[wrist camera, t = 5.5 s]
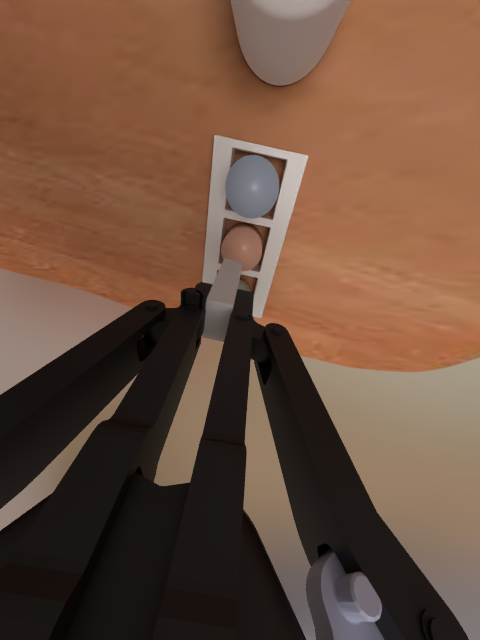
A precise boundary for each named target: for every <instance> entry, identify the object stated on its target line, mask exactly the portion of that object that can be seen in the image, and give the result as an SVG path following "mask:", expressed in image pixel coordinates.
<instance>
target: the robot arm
mask: <svg viewBox="0 0 480 640" xmlns="http://www.w3.org/2000/svg"><path fill="white" fill-rule="evenodd" d="M242 265H243V262H240V261H236V260H231V259H226V258H224V261H223V263H222V265H221V267H220V270H219V272H218V274H217V276H216V279H215V281H214V283H213V284H209V283H204V282H201V283H199V284H197V285H196V287H195V288H186V289H183V290H182V291H181V305H180V306H179V307H178V308H165V304H164V303H163V302H161V301H157V300H148V301H144V302H142V303H140V304H139V305H137V306H136V307H134V308H133V309H131V310H130V311H128V312H127V313H125V314H124V315H122V316H121V317H119V318H118V319H116V320H114V321H113V322H111V323H110V324H108V325H107V326H105V327H104V328H102V329H101V330H99V331H98V332H96V333H94V334H93V335H91V336H90V337H88V338H87V339H85V340H84V341H82V342H81V343H79V344H78V345H76V346H75V347H73V348H71V349H70V350H69V351H67V352H65V353H64V354H62V355H61V356H59V357H58V358H56V359H55V360H53V361H52V362H50V363H49V364H47V365H45V366H44V367H42V368H41V369H39V370H38V371H36V372H35V373H33V374H32V375H30V376H29V377H27V378H26V379H24V380H23V381H21V382H19V383H18V384H16V385H15V386H13V387H12V388H10V389H9V390H7V391H6V392H4V393H3V394H1V395H0V509H1V508H2V507H3V506H4V505H6V504H7V503H8V502H9V501H10V500H12V499H13V498H14V497H15V496H16V495H17V494H18V493H20V492H21V491H22V490H23V489H24V488H25V487H26V486H27V485H28V484H30V482H32V481H33V480H34V479H35V478H36V477H37V476H38V475H39V474H40V473H41V472H42V471H43V470H44V469H45V468H46V467H47V466H48V465H49V464H50V463H51V462H52V461H53V460H54V459H55V458H56V457H57V455H59V454H60V453H61V452H62V451H63V450H64V449H65V448H66V447H67V445H68V444H69V443H70V442H71V441H72V440H73V439H74V438H75V437H76V436H77V435H78V434H79V433H80V432H81V431H82V430H83V429H84V428H85V427H86V426H87V425H88V424H89V423H90V422H91V421H92V420H93V419H94V418H95V417H96V416H97V415H98V414H99V413H100V412H101V411H102V410H103V409H104V408H105V406H107V405H108V404H109V403H110V402H111V401H112V399H114V397H116V395H117V394H118V393H119V392H120V391H121V390H122V389H123V388H124V387H125V386H126V385H127V384H128V383H129V382H130V381H131V380H132V379H133V378H134V377H135V376H136V375H137V374H138V373H139V374H138V375H137V377H136V379H135V380H134V382H133V383H132V385H131V387H130V388H129V390H128V392H127V393H126V395H125V397H124V398H123V400H122V401H121V403H120V405H119V406H118V408H117V410H116V411H115V413H114V415H113V416H112V417H111V418H110V419H109V420H106V421H102V422H101V423H100V424H99V425H97V427H96V428H95V430H94V431H93V432H92V434H91V435H90V437H89V438H88V440H87V441H86V443H85V444H84V446H83V447H82V449H81V451H80V452H79V454H78V455H77V457H76V458H75V460H74V461H73V463H72V464H71V466H70V467H69V469H68V470H67V472H66V474H65V475H64V477H63V479H62V480H61V481H60V483H59V484H58V486H57V487H56V489H55V491H54V492H53V493H52V494H51V495H49V496H48V497H46V498H45V499H43V500H42V501H41V502H39V503H38V504H37V505H35V506H34V507H32V508H31V509H30V510H28V511H27V512H26V513H24V514H23V515H21V516H20V517H19V518H17V519H16V520H14V521H13V522H12V523H10V524H9V525H8V526H6V527H5V528H3V529H2V530H1V531H0V640H306V638H305V636H304V634H303V631H302V629H301V627H300V625H299V623H298V621H297V618H296V616H295V614H294V612H293V609H292V607H291V605H290V603H289V601H288V599H287V596H286V594H285V592H284V589H283V587H282V585H281V583H280V581H279V578H278V576H277V574H276V572H275V570H274V567H273V565H272V563H271V561H270V559H269V556H268V555H267V552H266V550H265V547H264V545H263V543H262V541H261V539H260V537H259V534H258V532H257V530H256V528H255V526H254V525H253V523H252V521H251V519H250V518H249V516H248V515H247V514H246V512H245V511H244V510H243V502H244V501H243V500H244V486H245V470H246V446H245V425H246V412H247V399H248V386H249V373H250V359H253V360H254V361H255V362H254V364H255V367H256V371H257V375H258V379H259V383H260V387H261V391H262V395H263V399H264V403H265V406H266V411H267V414H268V419H269V423H270V426H271V430H272V434H273V438H274V442H275V446H276V450H277V454H278V458H279V462H280V466H281V470H282V474H283V478H284V482H285V486H286V489H287V493H288V497H289V501H290V505H291V509H292V513H293V517H294V520H295V524H296V527H297V530H298V534H299V537H300V540H301V543H302V545H303V548H304V550H305V553H306V556H307V558H308V561H309V563H310V565H311V568H310V570H309V573H308V576H307V582H306V593H307V601H308V605H309V608H310V612H311V615H312V619H313V622H314V626H315V633H316V640H469V639H468V637H467V635H466V633H465V632H464V630H463V628H462V627H461V625H460V624H459V622H458V621H457V619H456V617H455V616H454V614H453V613H452V612H451V610H450V609H449V607H448V606H447V605H446V604H445V602H444V601H443V600H442V598H441V597H440V596H439V594H438V593H437V592H436V590H435V589H434V588H433V586H432V585H431V584H430V582H429V581H428V580H427V578H426V577H425V576H424V574H423V573H422V572H421V570H420V569H419V568H418V566H417V565H416V564H415V562H414V561H413V560H412V558H411V557H410V556H409V554H408V553H407V552H406V550H405V549H404V548H403V546H402V545H401V544H400V542H399V541H398V540H397V538H396V537H395V536H394V534H393V533H392V532H391V530H390V529H389V528H388V526H387V525H386V524H385V522H384V521H383V520H382V519H381V517H380V516H379V514H378V513H377V512H376V509H375V508H374V505H373V503H372V501H371V499H370V497H369V495H368V493H367V491H366V489H365V487H364V485H363V483H362V481H361V479H360V477H359V475H358V473H357V471H356V469H355V467H354V465H353V463H352V461H351V459H350V457H349V454H348V453H347V450H346V449H345V446H344V444H343V442H342V440H341V438H340V437H339V434H338V432H337V430H336V428H335V426H334V424H333V422H332V420H331V418H330V416H329V414H328V412H327V410H326V408H325V406H324V404H323V402H322V400H321V398H320V395H319V393H318V391H317V389H316V387H315V385H314V383H313V381H312V379H311V377H310V375H309V373H308V371H307V369H306V367H305V365H304V363H303V361H302V359H301V357H300V355H299V353H298V351H297V349H296V347H295V345H294V343H293V340H292V338H291V336H290V334H289V332H288V331H287V329H286V328H285V327H283V326H282V325H279V324H275V323H270V324H267V325H266V326H265V327H264V326H262V325H260V324H258V323H257V322H255V321H254V319H253V316H252V314H253V300H254V295H253V294H252V292H251V291H246V290H241V289H238V286H239V281H240V275H241V270H242ZM202 334H203V337H204V338H209V339H214V340H219V341H224V345H223V349H222V353H221V358H220V362H219V366H218V370H217V375H216V379H215V383H214V387H213V392H212V396H211V400H210V405H209V409H208V413H207V417H206V422H205V426H204V430H203V435H202V437H201V440H200V444H199V448H198V452H197V456H196V461H195V465H194V469H193V473H192V477H191V482H190V483H185V484H177V485H171V486H159V485H157V484H155V483H154V478H155V475H156V469H157V465H158V461H159V458H160V455H161V452H162V450H163V447H164V444H165V441H166V438H167V435H168V433H169V430H170V427H171V424H172V422H173V418H174V416H175V413H176V411H177V408H178V405H179V402H180V399H181V396H182V394H183V391H184V388H185V385H186V382H187V380H188V377H189V374H190V371H191V369H192V366H193V363H194V360H195V358H196V355H197V352H198V349H199V346H200V344H201V336H202Z"/></svg>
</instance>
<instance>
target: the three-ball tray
mask: <svg viewBox="0 0 480 640" xmlns="http://www.w3.org/2000/svg"><path fill="white" fill-rule="evenodd" d="M235 150H239V151H244V152H248V153H253V154H257V155H262V156H266V157H271V158H275V159H280V160H284V161H286V162H285V166H284V170H283V174H282V178H281V183H280V187H279V193H278V197H277V200H276V203H275V207H274V211H273V215H272V216H269V215H263V216H261V217H258V218H245V217H242V216H240V215H238V214H237V213H236V212H235V211H234V210H233V209H232V208H231V207H228V200H227V197H226V192H225V183H226V178H227V175H228V172H229V170H230V168H231V167H232V166H233V164H234V157H235ZM307 159H308V156H307V155H302V154H298V153H293V152H289V151H284V150H280V149H275V148H271V147H266V146H262V145H258V144H253V143H249V142H244V141H240V140H235V139H231V138H226V137H222V136H217V135H215V136H214V148H213V160H212V172H211V183H210V195H209V207H208V219H207V231H206V243H205V255H204V267H203V279H202V282H204V283H209V284H213V283H214V281H215V279H216V276H217V274H218V272H219V270H220V267H221V265H222V263H223V261H224V260H223V258H222V255H221V246H222V242H223V240H224V234H225V226H226V218H228V219H233V220H238V221H242V222H247V223H252V224H256V225H261V226H265V227H269V232H268V236H267V240H266V244H265V248H264V252H263V256H262V260H261V264H260V265H256V266H255V267H254V268H253V269H251V270H248V271H241V275H246V276H251V277H256V278H257V281H256V285H255V289H254V293H253V295H254V300H253V314H252V316H253V317H257V318H261V317H262V314H263V310H264V307H265V303H266V300H267V296H268V293H269V290H270V286H271V283H272V279H273V276H274V272H275V269H276V266H277V262H278V259H279V255H280V252H281V248H282V245H283V242H284V238H285V235H286V231H287V228H288V224H289V221H290V217H291V214H292V211H293V207H294V204H295V200H296V197H297V193H298V190H299V187H300V183H301V180H302V176H303V173H304V169H305V166H306V163H307Z"/></svg>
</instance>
